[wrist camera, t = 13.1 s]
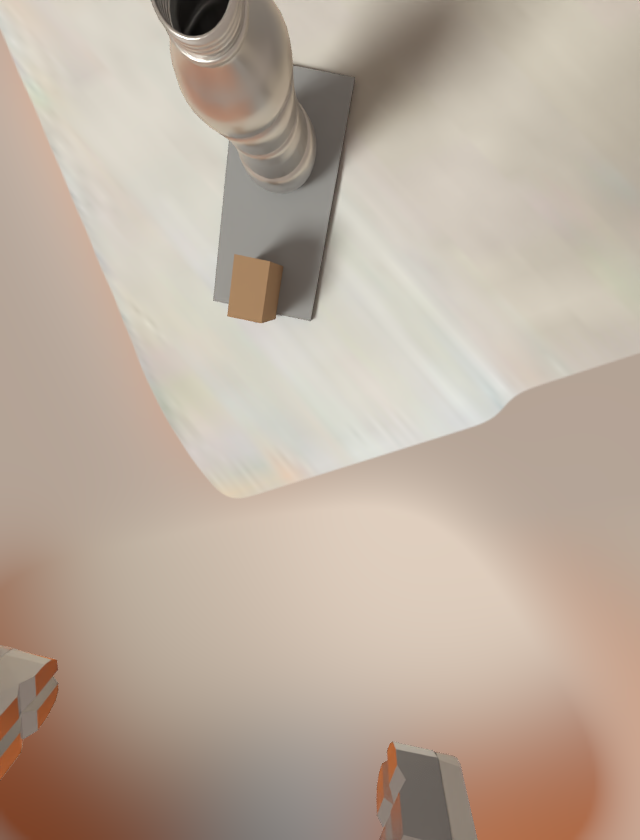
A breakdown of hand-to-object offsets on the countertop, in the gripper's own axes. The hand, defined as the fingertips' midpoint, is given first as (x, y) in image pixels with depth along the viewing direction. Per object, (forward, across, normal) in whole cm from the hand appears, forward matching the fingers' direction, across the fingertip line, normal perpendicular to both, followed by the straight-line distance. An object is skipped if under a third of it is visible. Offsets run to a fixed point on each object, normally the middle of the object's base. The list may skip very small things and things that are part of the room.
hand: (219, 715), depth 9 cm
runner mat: (+33, +8, -17) cm, 38 cm away
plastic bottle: (+33, +8, -20) cm, 39 cm away
